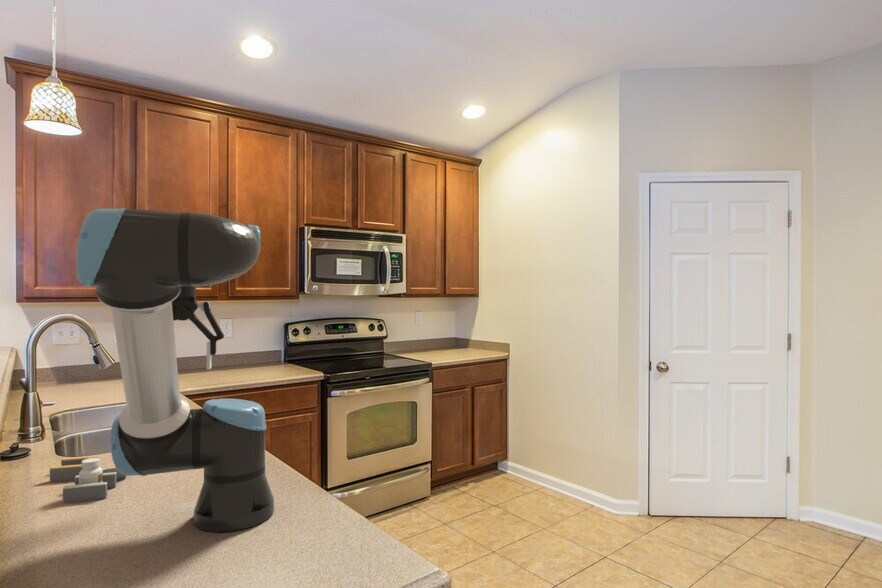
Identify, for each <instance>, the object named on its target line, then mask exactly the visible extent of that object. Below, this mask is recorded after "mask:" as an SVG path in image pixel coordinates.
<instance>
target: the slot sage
mask: <svg viewBox="0 0 882 588" xmlns="http://www.w3.org/2000/svg"><path fill="white" fill-rule="evenodd" d="M116 487H117V483H116V472H112V473H103V482H102V483H91V484H80V485H79V475H78V476H76V477H75V480H74V484H71V485H70V484H69V485H65V486H63V487H62V503H75V502H76V503H77V502H83V501H84V502H85V501H95V500H105V499H107V498H108V489H114V488H116Z"/></svg>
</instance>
